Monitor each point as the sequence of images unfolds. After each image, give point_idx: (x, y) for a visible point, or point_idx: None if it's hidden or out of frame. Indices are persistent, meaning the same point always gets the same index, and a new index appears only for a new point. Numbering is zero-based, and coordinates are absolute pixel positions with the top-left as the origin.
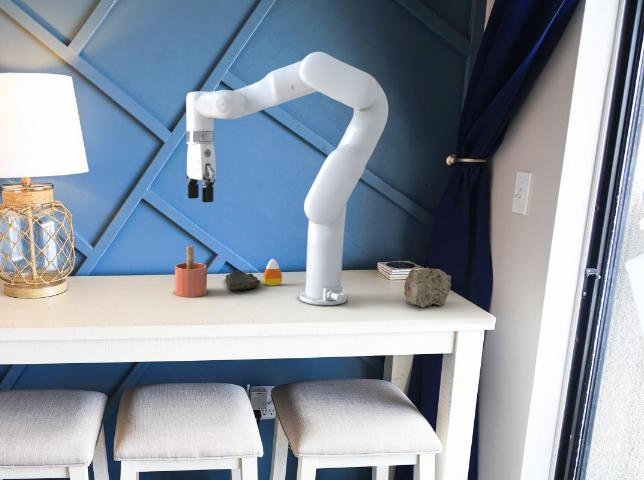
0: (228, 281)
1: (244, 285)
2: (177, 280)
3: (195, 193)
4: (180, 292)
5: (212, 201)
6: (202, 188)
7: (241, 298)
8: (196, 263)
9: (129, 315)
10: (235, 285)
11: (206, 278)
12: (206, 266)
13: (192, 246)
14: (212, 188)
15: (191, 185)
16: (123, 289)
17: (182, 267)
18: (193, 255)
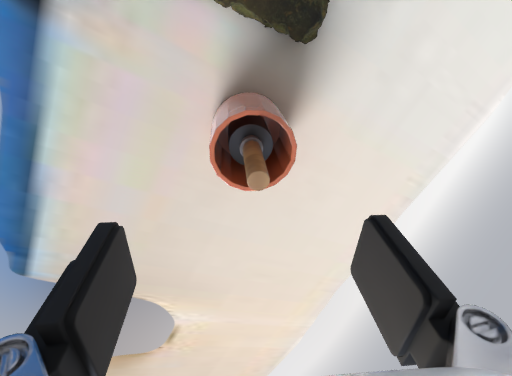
0: (231, 4)
1: (326, 4)
2: None
3: (116, 270)
4: None
5: (382, 218)
6: (406, 359)
7: (348, 39)
8: (227, 124)
9: (319, 255)
10: (312, 31)
11: (275, 108)
12: (280, 118)
13: (260, 174)
14: (444, 296)
15: (98, 367)
16: (165, 230)
17: (215, 156)
18: (263, 160)
